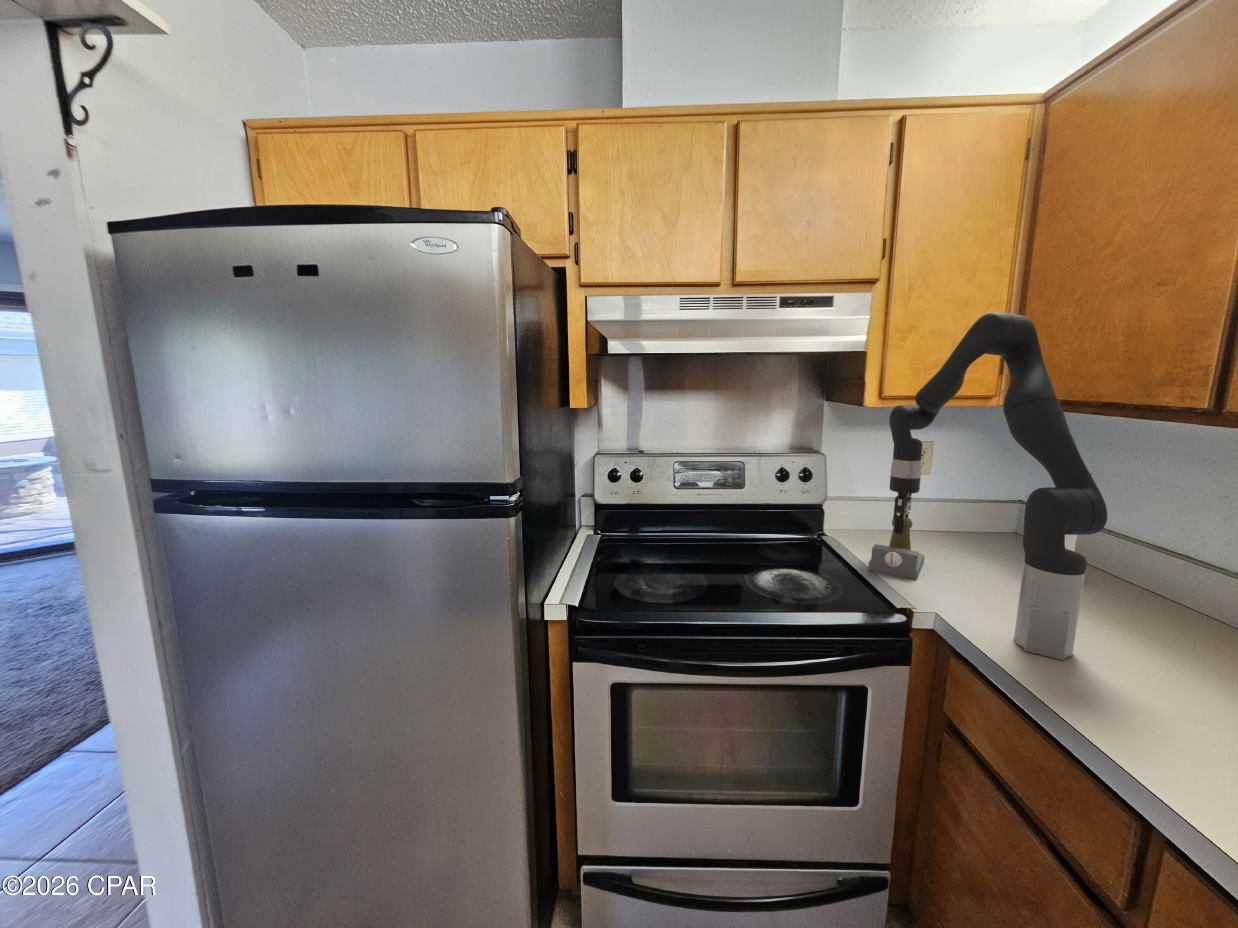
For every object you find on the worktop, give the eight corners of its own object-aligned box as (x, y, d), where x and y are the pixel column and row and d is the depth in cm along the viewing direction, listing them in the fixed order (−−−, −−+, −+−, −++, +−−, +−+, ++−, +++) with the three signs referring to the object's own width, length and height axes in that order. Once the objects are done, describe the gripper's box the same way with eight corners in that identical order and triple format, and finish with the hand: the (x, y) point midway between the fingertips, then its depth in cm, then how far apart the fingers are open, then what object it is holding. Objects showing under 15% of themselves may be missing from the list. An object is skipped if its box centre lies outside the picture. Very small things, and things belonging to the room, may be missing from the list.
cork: (887, 554, 146) (890, 518, 144) (887, 548, 151) (890, 513, 149) (911, 558, 143) (914, 521, 141) (910, 551, 148) (914, 515, 146)
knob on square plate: (916, 580, 136) (918, 556, 134) (868, 570, 143) (869, 547, 141) (923, 562, 149) (925, 540, 147) (879, 554, 156) (880, 533, 154)
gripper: (917, 480, 135) (912, 538, 138) (923, 472, 146) (918, 525, 149) (886, 477, 139) (882, 533, 142) (894, 469, 151) (890, 521, 153)
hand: (900, 529), depth 145 cm, fingers open, 8 cm apart
